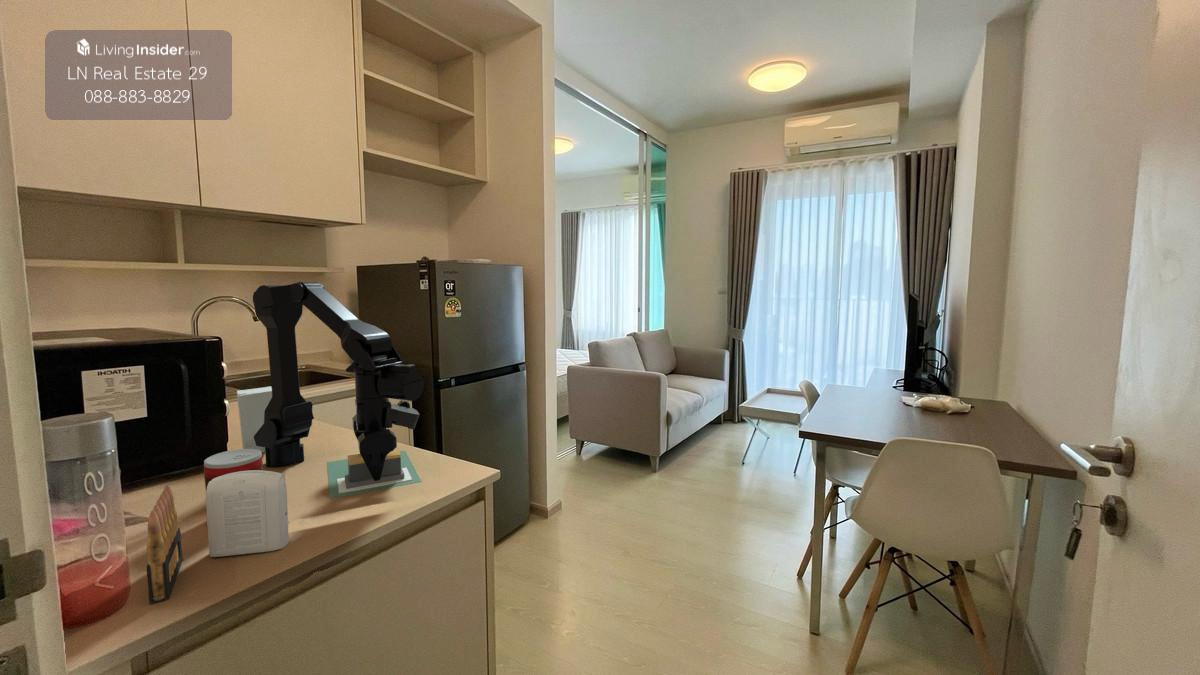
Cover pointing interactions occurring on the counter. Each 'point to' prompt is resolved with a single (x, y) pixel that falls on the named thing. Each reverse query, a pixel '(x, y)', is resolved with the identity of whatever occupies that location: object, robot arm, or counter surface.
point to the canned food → (232, 463)
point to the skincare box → (252, 414)
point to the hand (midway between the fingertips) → (374, 471)
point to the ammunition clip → (163, 548)
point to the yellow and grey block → (361, 472)
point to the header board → (344, 487)
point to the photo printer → (247, 513)
